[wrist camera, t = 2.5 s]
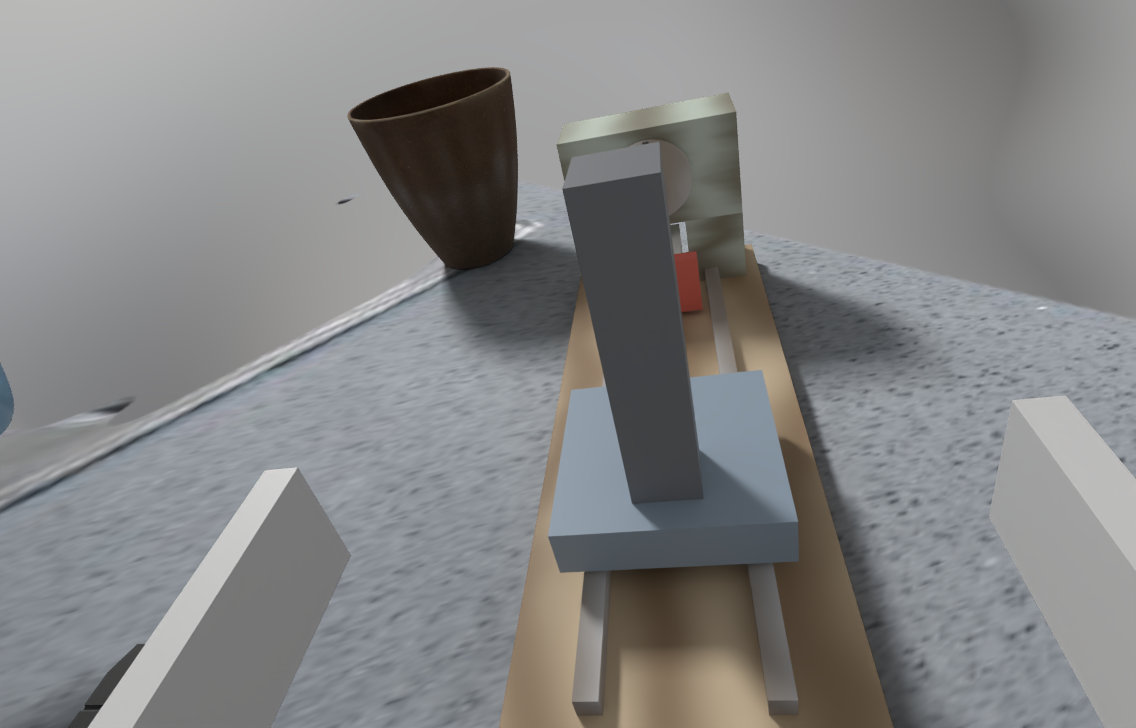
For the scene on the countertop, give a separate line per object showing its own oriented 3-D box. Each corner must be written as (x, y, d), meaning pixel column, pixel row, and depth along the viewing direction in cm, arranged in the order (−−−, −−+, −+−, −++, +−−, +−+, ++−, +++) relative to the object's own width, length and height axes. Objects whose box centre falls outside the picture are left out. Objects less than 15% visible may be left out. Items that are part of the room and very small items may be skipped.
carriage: (560, 572, 28) (442, 226, 19) (579, 423, 37) (503, 129, 28) (798, 561, 26) (792, 169, 17) (764, 406, 35) (747, 83, 25)
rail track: (508, 748, 26) (384, 514, 18) (585, 283, 56) (551, 126, 49) (891, 751, 23) (930, 476, 15) (752, 260, 53) (743, 89, 46)
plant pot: (572, 252, 62) (532, 76, 53) (423, 307, 59) (356, 130, 50) (523, 210, 74) (484, 61, 66) (398, 254, 71) (339, 104, 63)
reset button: (631, 318, 46) (622, 268, 44) (633, 272, 52) (625, 225, 50) (702, 309, 45) (697, 257, 43) (696, 263, 51) (691, 215, 49)
